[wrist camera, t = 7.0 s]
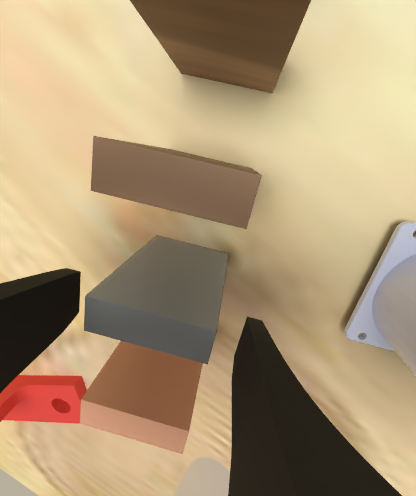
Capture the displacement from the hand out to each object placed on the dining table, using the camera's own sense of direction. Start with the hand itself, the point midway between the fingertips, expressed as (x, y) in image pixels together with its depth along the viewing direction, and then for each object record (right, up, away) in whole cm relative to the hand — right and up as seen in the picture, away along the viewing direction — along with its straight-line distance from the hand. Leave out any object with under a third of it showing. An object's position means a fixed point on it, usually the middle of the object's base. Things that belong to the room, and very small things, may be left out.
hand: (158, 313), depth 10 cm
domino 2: (+2, +7, +5) cm, 9 cm away
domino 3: (0, -3, +8) cm, 9 cm away
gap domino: (+1, +2, +7) cm, 7 cm away
